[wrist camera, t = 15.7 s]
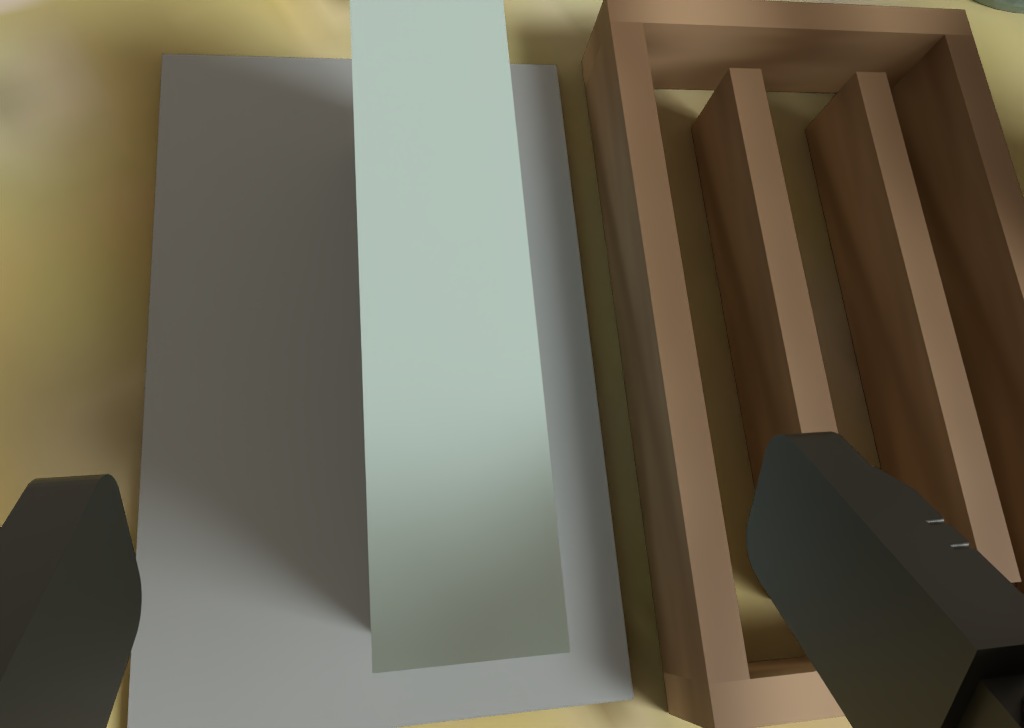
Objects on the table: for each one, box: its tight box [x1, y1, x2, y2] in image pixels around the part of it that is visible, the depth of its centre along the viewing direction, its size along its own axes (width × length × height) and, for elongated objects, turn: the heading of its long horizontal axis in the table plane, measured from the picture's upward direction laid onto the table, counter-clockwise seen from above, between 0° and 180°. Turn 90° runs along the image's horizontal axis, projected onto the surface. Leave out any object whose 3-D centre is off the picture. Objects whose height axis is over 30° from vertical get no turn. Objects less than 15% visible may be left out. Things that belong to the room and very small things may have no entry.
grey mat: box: [127, 54, 634, 728], centre depth 21 cm, size 12×19×1 cm, turn 5°
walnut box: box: [582, 0, 1024, 728], centre depth 22 cm, size 12×20×3 cm, turn 5°
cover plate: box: [350, 0, 570, 673], centre depth 16 cm, size 2×14×10 cm, turn 5°
